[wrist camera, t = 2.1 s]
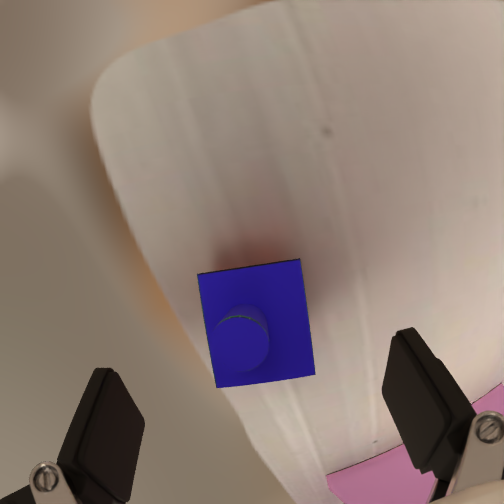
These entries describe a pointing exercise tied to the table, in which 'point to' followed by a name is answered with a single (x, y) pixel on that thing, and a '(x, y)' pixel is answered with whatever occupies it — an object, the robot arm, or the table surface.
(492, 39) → the table surface
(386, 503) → the pink table lamp
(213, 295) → the toy building block
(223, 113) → the table surface
